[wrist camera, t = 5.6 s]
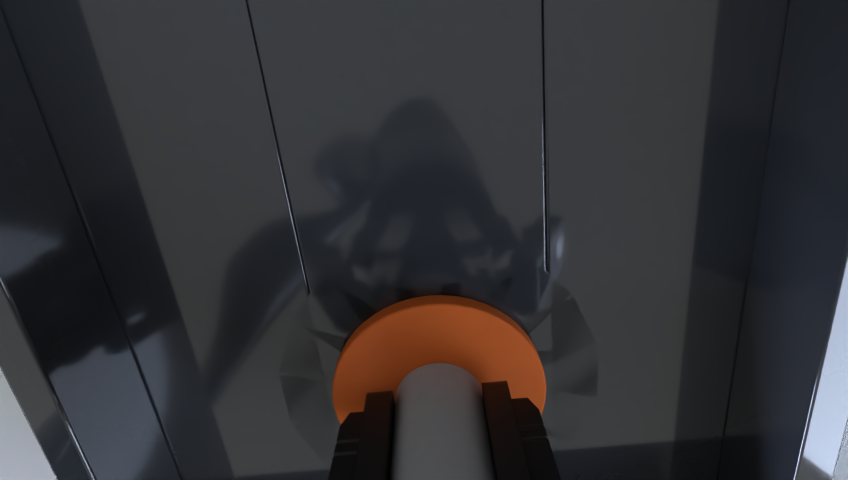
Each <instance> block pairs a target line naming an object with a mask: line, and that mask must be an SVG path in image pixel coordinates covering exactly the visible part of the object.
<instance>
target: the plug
mask: <svg viewBox="0 0 848 480" xmlns="http://www.w3.org/2000/svg"><path fill="white" fill-rule="evenodd" d="M496 381H507V383H508V387H509V391H510V395H511V399H515V398H527V397H528V398H529V399H530V400H531V401H532V402H533V404H534V405H535V406H536V407H537V408H538V409H539V411H540V414H541V415H542V412H543V409H544V404H545V400H546V379H545V374H544V370H543V366H542V363H541V360H540V358H539V355H538V353H537V351H536V348H535V346H534V344H533V343H532V341H531V340H530V338H529V337H528V335H527V334H526V333H525V332H524V330H523V329H522V328H521V327H520V326H519V325H518V324H517V323H516V322H515V321H513V320H512V319H511V318H510V317H509V316H507V315H505V314H504V313H502V312H501V311H499V310H498V309H496V308H493V307H491V306H489V305H487V304H485V303H482V302H479V301H476V300H473V299H469V298H464V297H459V296H450V295H428V296H422V297H415V298H411V299H407V300H404V301H400V302H398V303H395V304H393V305H390V306H388V307H386V308H384V309H382V310H381V311H379V312H377V313H375V314H374V315H373V316H371V317H370V318H369V319H367V320H366V321H365V322H363V323H362V324H361V325H360V326H359V327H358V328H357V329H356V330H355V331H354V333H353V334H352V335H351V337H350V338H349V339H348V341H347V342H346V344H345V346H344V348H343V350H342V351H341V354H340V357H339V360H338V362H337V366H336V370H335V374H334V379H333V390H332V396H333V404H334V408H335V412H336V415H337V418H338V420H339V422H340V424H342V423H343V421H344V420H345V418H346V417H347V416H348V414H349V413H351V412H363V411H364V406H365V400H366V395H367V393H369V392H381V391H393V394H394V400H395V414H394V427H393V440H392V453H391V466H390V479H389V480H496V475H495V469H494V463H493V457H492V451H491V445H490V439H489V433H488V427H487V421H486V415H485V409H484V403H483V397H482V383H485V382H496Z"/></svg>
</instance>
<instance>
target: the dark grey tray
mask: <svg viewBox="0 0 848 480" xmlns="http://www.w3.org/2000/svg"><path fill="white" fill-rule="evenodd" d="M0 368H1V370H2V372H3V374H4V376H5V378H6V380H7V382H8V384H9V386H10V388H11V390H12V392H13V394H14V396H15V398H16V400H17V402H18V404H19V406H20V408H21V410H22V412H23V414H24V416H25V418H26V420H27V422H28V424H29V426H30V427H31V429H32V431H33V433H34V435H35V437H36V439H37V441H38V443H39V445H40V447H41V449H42V451H43V453H44V455H45V457H46V459H47V461H48V463H49V465H50V467H51V469H52V471H53V473H54V475H55V477H56V479H57V480H181V479H180V476H179V474H178V471H177V468H176V466H175V463H174V461H173V458H172V455H171V453H170V450H169V447H168V445H167V442H166V440H165V437H164V434H163V432H162V429H161V427H160V424H159V421H158V419H157V416H156V413H155V411H154V408H153V406H152V403H151V400H150V398H149V395H148V393H147V390H146V387H145V385H144V382H143V379H142V377H141V374H140V372H139V369H138V366H137V364H136V361H135V358H134V356H133V353H132V351H131V348H130V345H129V343H128V340H127V338H126V335H125V332H124V330H123V327H122V324H121V322H120V319H119V317H118V314H117V311H116V309H115V306H114V304H113V301H112V298H111V296H110V293H109V290H108V288H107V285H106V283H105V280H104V277H103V275H102V272H101V269H100V267H99V264H98V262H97V259H96V256H95V254H94V251H93V249H92V246H91V243H90V241H89V238H88V235H87V233H86V230H85V228H84V225H83V222H82V220H81V217H80V215H79V212H78V209H77V207H76V204H75V201H74V199H73V196H72V194H71V191H70V188H69V186H68V183H67V180H66V178H65V175H64V173H63V170H62V167H61V165H60V162H59V160H58V157H57V154H56V152H55V149H54V146H53V144H52V141H51V139H50V136H49V133H48V131H47V128H46V126H45V123H44V120H43V118H42V115H41V112H40V110H39V107H38V105H37V102H36V99H35V97H34V94H33V91H32V89H31V86H30V84H29V81H28V78H27V76H26V73H25V71H24V68H23V65H22V63H21V60H20V57H19V55H18V52H17V50H16V47H15V44H14V42H13V39H12V37H11V34H10V31H9V29H8V26H7V23H6V21H5V18H4V16H3V13H2V10H1V8H0ZM847 422H848V0H790V1H789V8H788V15H787V21H786V28H785V35H784V41H783V48H782V55H781V62H780V68H779V75H778V82H777V88H776V95H775V102H774V108H773V115H772V122H771V128H770V135H769V142H768V148H767V155H766V162H765V168H764V175H763V182H762V189H761V195H760V202H759V209H758V215H757V222H756V229H755V235H754V242H753V249H752V255H751V262H750V269H749V275H748V282H747V289H746V295H745V302H744V309H743V316H742V322H741V329H740V336H739V342H738V349H737V356H736V362H735V369H734V376H733V382H732V389H731V396H730V402H729V409H728V416H727V422H726V429H725V436H724V443H723V449H722V456H721V463H720V469H719V476H718V480H832V479H833V475H834V471H835V467H836V463H837V460H838V456H839V452H840V448H841V444H842V441H843V437H844V433H845V429H846V425H847Z"/></svg>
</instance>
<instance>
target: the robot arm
mask: <svg viewBox="0 0 848 480" xmlns="http://www.w3.org/2000/svg"><path fill="white" fill-rule="evenodd" d="M482 397H483V403H484V409H485V415H486V421H487V427H488V433H489V439H490V445H491V451H492V457H493V463H494V469H495V475H496V480H561V477H560V474H559V471H558V468H557V465H556V461H555V458H554V455H553V452H552V449H551V446H550V442H549V439H548V437H547V433H546V430H545V427H544V423H543V420H542V417H541V414H540V411H539V409H538V408H537V407H536V406H535V405H534V404H533V402H532V401H531V400H530V399H529V398H528V397H527V398H515V399H511V395H510V391H509V387H508V383H507V381H496V382H485V383H482ZM394 414H395V400H394V394H393V391H381V392H369V393H367V395H366V400H365V406H364V411H363V412H351V413H349V414H348V416H347V417H346V418H345V420H344V421H343V423H342V424H341V425H340V427H339V432H338V437H337V441H336V442H337V444H336V446H335V450H334V457H333V460H332V464H331V469H330V473H329V478H328V480H389V479H390V466H391V453H392V440H393V427H394Z"/></svg>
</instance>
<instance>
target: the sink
mask: <svg viewBox="0 0 848 480" xmlns="http://www.w3.org/2000/svg"><path fill="white" fill-rule="evenodd" d="M789 1H790V0H0V8H1V10H2V13H3V16H4V18H5V21H6V23H7V26H8V29H9V31H10V34H11V37H12V39H13V42H14V44H15V47H16V50H17V52H18V55H19V57H20V60H21V63H22V65H23V68H24V71H25V73H26V76H27V78H28V81H29V84H30V86H31V89H32V91H33V94H34V97H35V99H36V102H37V105H38V107H39V110H40V112H41V115H42V118H43V120H44V123H45V126H46V128H47V131H48V133H49V136H50V139H51V141H52V144H53V146H54V149H55V152H56V154H57V157H58V160H59V162H60V165H61V167H62V170H63V173H64V175H65V178H66V180H67V183H68V186H69V188H70V191H71V194H72V196H73V199H74V201H75V204H76V207H77V209H78V212H79V215H80V217H81V220H82V222H83V225H84V228H85V230H86V233H87V235H88V238H89V241H90V243H91V246H92V249H93V251H94V254H95V256H96V259H97V262H98V264H99V267H100V269H101V272H102V275H103V277H104V280H105V283H106V285H107V288H108V290H109V293H110V296H111V298H112V301H113V304H114V306H115V309H116V311H117V314H118V317H119V319H120V322H121V324H122V327H123V330H124V332H125V335H126V338H127V340H128V343H129V345H130V348H131V351H132V353H133V356H134V358H135V361H136V364H137V366H138V369H139V372H140V374H141V377H142V379H143V382H144V385H145V387H146V390H147V393H148V395H149V398H150V400H151V403H152V406H153V408H154V411H155V413H156V416H157V419H158V421H159V424H160V427H161V429H162V432H163V434H164V437H165V440H166V442H167V445H168V447H169V450H170V453H171V455H172V458H173V461H174V463H175V466H176V468H177V471H178V474H179V476H180V479H181V480H328V478H329V473H330V469H331V464H332V460H333V457H334V450H335V446H336V444H337V442H336V441H337V437H338V432H339V427H340V425H341V424H340V422H339V420H338V418H337V415H336V412H335V408H334V404H333V396H332V390H333V379H334V374H335V370H336V366H337V362H338V360H339V357H340V354H341V351H342V350H343V348H344V346H345V344H346V342H347V341H348V339H349V338H350V337H351V335H352V334H353V333H354V331H355V330H356V329H357V328H358V327H359V326H360V325H361V324H362V323H363V322H365V321H366V320H367V319H369V318H370V317H371V316H373V315H374V314H375V313H377V312H379V311H381V310H382V309H384V308H386V307H388V306H390V305H393V304H395V303H398V302H400V301H404V300H407V299H411V298H415V297H422V296H428V295H450V296H459V297H464V298H469V299H473V300H476V301H479V302H482V303H485V304H487V305H489V306H491V307H493V308H496V309H498V310H499V311H501V312H502V313H504V314H505V315H507V316H509V317H510V318H511V319H512V320H513V321H515V322H516V323H517V324H518V325H519V326H520V327H521V328H522V329H523V330H524V332H525V333H526V334H527V335H528V337H529V338H530V340H531V341H532V343H533V344H534V346H535V348H536V351H537V353H538V355H539V358H540V360H541V363H542V366H543V370H544V374H545V379H546V400H545V404H544V409H543V412H542V415H541V417H542V420H543V423H544V427H545V430H546V433H547V437H548V439H549V442H550V446H551V449H552V452H553V455H554V458H555V461H556V465H557V468H558V471H559V474H560V477H561V480H718V476H719V469H720V463H721V456H722V449H723V443H724V436H725V429H726V422H727V416H728V409H729V402H730V396H731V389H732V382H733V376H734V369H735V362H736V356H737V349H738V342H739V336H740V329H741V322H742V316H743V309H744V302H745V295H746V289H747V282H748V275H749V269H750V262H751V255H752V249H753V242H754V235H755V229H756V222H757V215H758V209H759V202H760V195H761V189H762V182H763V175H764V168H765V162H766V155H767V148H768V142H769V135H770V128H771V122H772V115H773V108H774V102H775V95H776V88H777V82H778V75H779V68H780V62H781V55H782V48H783V41H784V35H785V28H786V21H787V15H788V8H789Z"/></svg>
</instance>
